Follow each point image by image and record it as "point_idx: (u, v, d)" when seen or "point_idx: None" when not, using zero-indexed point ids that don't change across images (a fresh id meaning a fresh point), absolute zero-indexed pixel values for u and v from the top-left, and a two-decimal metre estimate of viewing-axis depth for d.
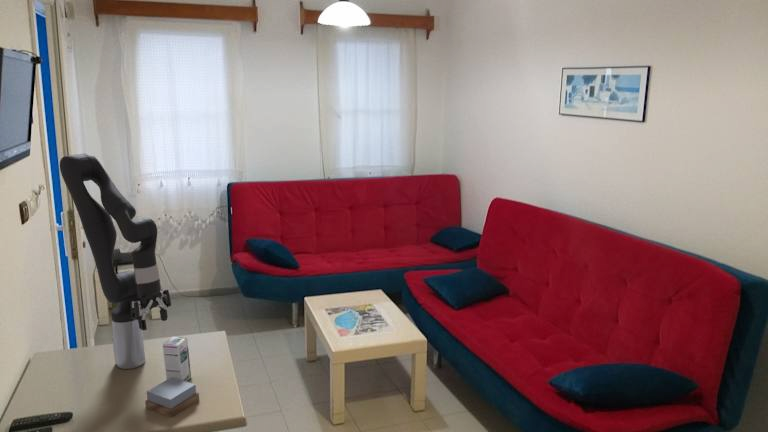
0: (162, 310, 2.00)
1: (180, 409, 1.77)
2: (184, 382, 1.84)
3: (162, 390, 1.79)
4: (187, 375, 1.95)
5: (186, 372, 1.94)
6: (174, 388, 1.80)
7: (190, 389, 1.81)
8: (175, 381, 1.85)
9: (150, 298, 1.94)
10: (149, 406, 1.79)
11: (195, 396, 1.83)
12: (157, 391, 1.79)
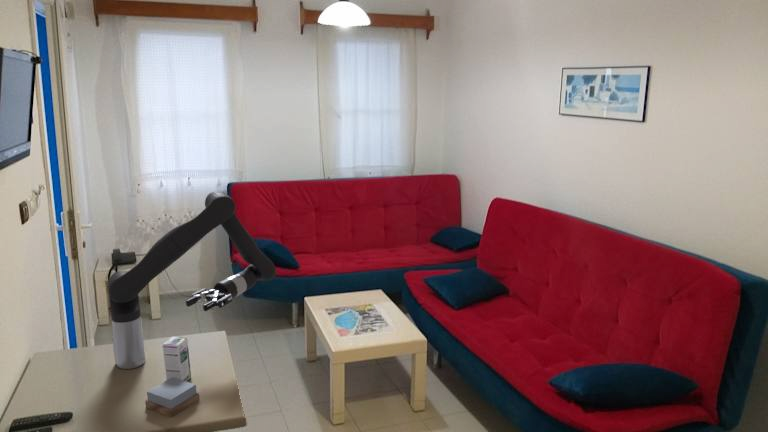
0: (195, 300, 2.03)
1: (180, 409, 1.77)
2: (184, 382, 1.84)
3: (162, 390, 1.79)
4: (187, 375, 1.95)
5: (186, 372, 1.94)
6: (174, 388, 1.80)
7: (191, 389, 1.81)
8: (175, 381, 1.84)
9: None
10: (149, 406, 1.79)
11: (195, 396, 1.83)
12: (157, 391, 1.78)
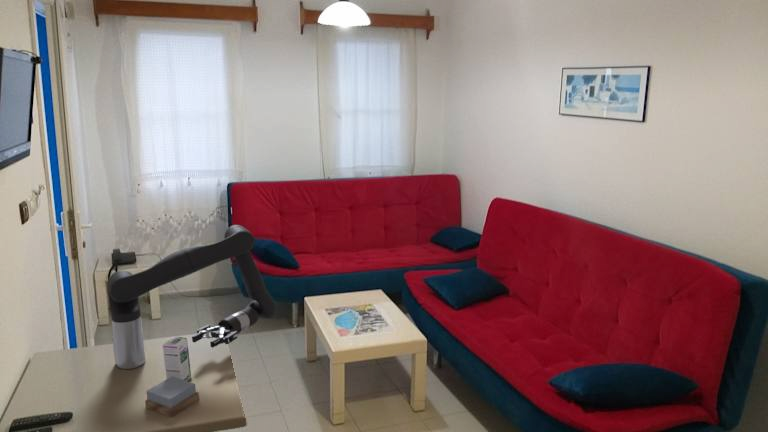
0: (201, 336, 2.08)
1: (180, 409, 1.77)
2: (184, 381, 1.84)
3: (162, 389, 1.79)
4: (187, 375, 1.95)
5: (186, 372, 1.94)
6: (174, 387, 1.80)
7: (190, 388, 1.81)
8: (175, 380, 1.85)
9: None
10: (149, 406, 1.79)
11: (195, 396, 1.83)
12: (156, 390, 1.79)
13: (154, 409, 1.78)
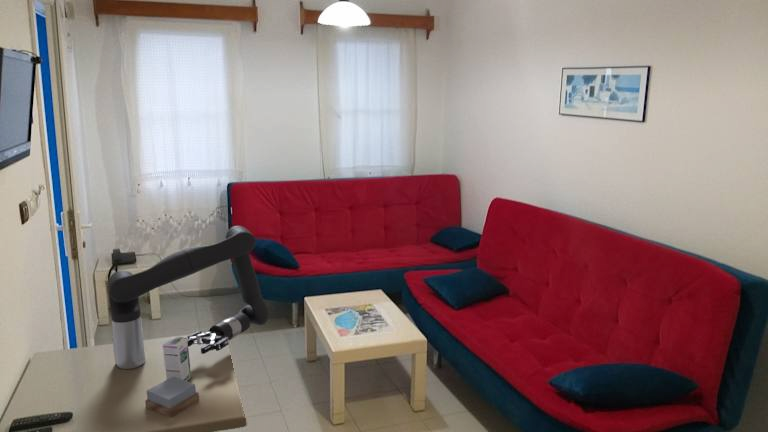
0: (191, 342, 2.04)
1: (180, 409, 1.77)
2: (184, 382, 1.84)
3: (162, 389, 1.79)
4: (187, 375, 1.95)
5: (186, 372, 1.94)
6: (174, 388, 1.80)
7: (190, 389, 1.81)
8: (175, 381, 1.85)
9: None
10: (149, 406, 1.79)
11: (195, 396, 1.82)
12: (156, 390, 1.79)
13: (154, 409, 1.78)
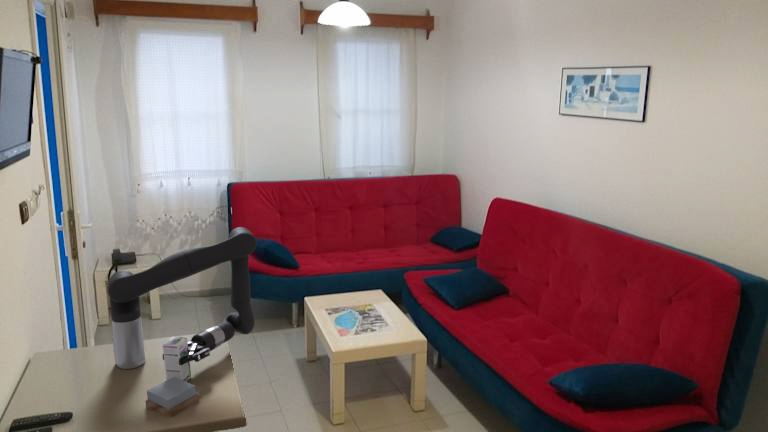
0: None
1: (180, 409, 1.77)
2: (185, 383, 1.83)
3: (162, 390, 1.79)
4: (187, 375, 1.95)
5: (186, 372, 1.94)
6: (174, 388, 1.80)
7: (190, 390, 1.81)
8: (176, 381, 1.84)
9: None
10: (149, 406, 1.79)
11: (195, 396, 1.83)
12: (156, 391, 1.79)
13: (154, 409, 1.78)
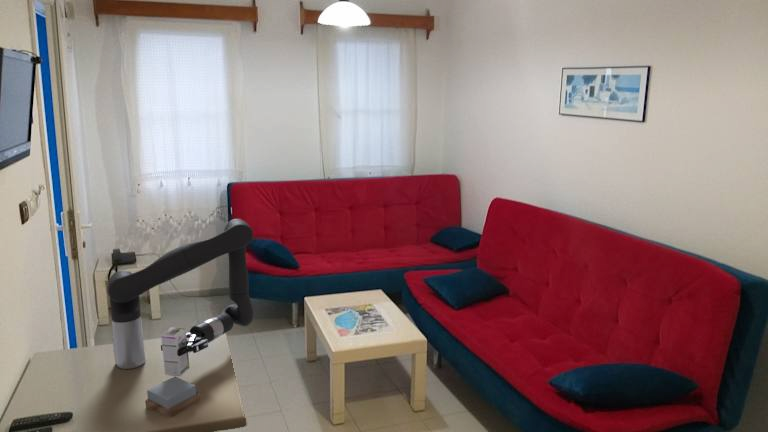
0: None
1: (180, 409, 1.77)
2: (185, 382, 1.83)
3: (162, 389, 1.79)
4: (185, 366, 1.94)
5: (185, 363, 1.94)
6: (174, 388, 1.80)
7: (190, 390, 1.80)
8: (177, 381, 1.84)
9: None
10: (149, 405, 1.79)
11: (195, 396, 1.83)
12: (156, 390, 1.79)
13: (154, 409, 1.78)
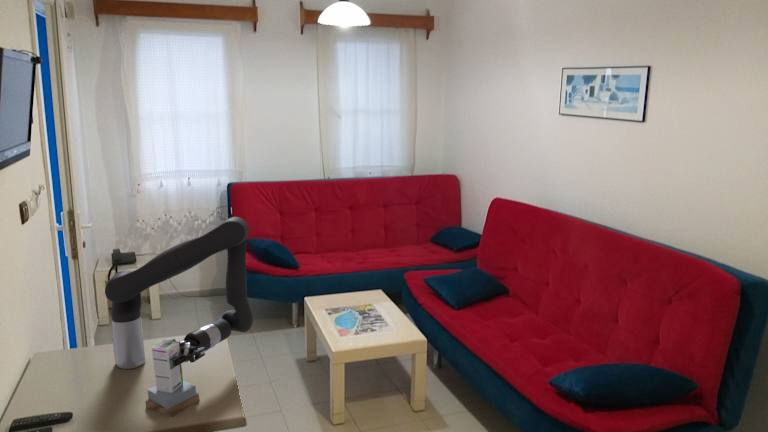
0: None
1: (180, 410, 1.78)
2: (185, 383, 1.84)
3: None
4: (178, 382, 1.80)
5: (177, 378, 1.80)
6: None
7: (190, 391, 1.81)
8: None
9: None
10: (149, 406, 1.79)
11: (195, 396, 1.83)
12: (157, 390, 1.79)
13: (154, 409, 1.78)
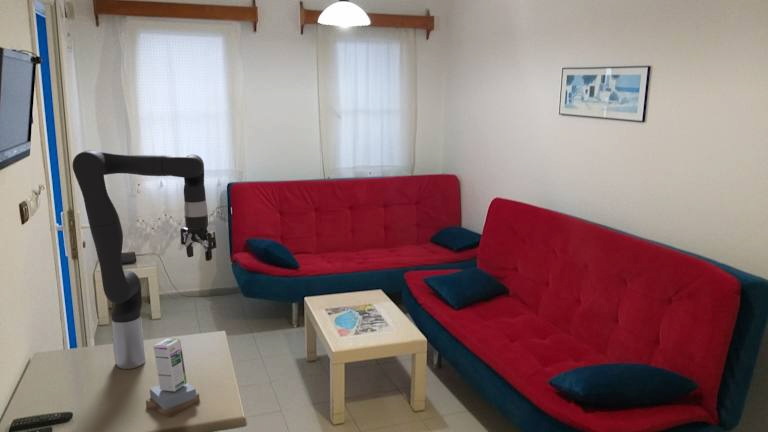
0: (190, 246, 2.07)
1: (180, 410, 1.77)
2: (187, 384, 1.83)
3: None
4: (181, 380, 1.80)
5: (180, 377, 1.79)
6: None
7: (189, 393, 1.79)
8: None
9: None
10: (150, 406, 1.79)
11: None
12: (158, 390, 1.80)
13: (154, 409, 1.78)
